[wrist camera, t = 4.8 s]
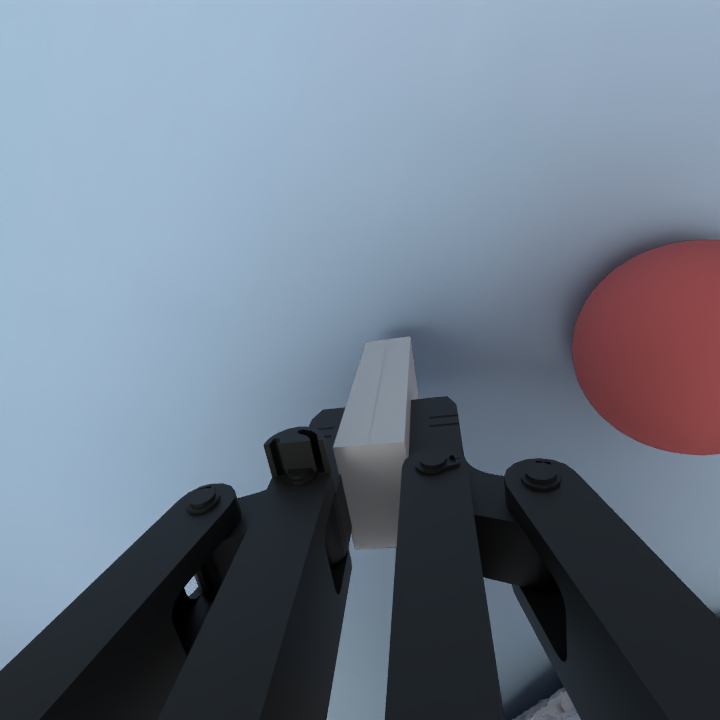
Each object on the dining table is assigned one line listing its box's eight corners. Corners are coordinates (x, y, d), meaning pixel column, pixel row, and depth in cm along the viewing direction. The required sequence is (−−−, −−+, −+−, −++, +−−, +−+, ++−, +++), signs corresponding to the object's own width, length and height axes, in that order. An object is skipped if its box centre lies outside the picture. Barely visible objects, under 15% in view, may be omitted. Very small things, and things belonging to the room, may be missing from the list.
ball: (667, 527, 12) (541, 419, 17) (884, 464, 12) (693, 378, 18) (674, 290, 10) (528, 255, 15) (937, 224, 10) (701, 213, 16)
